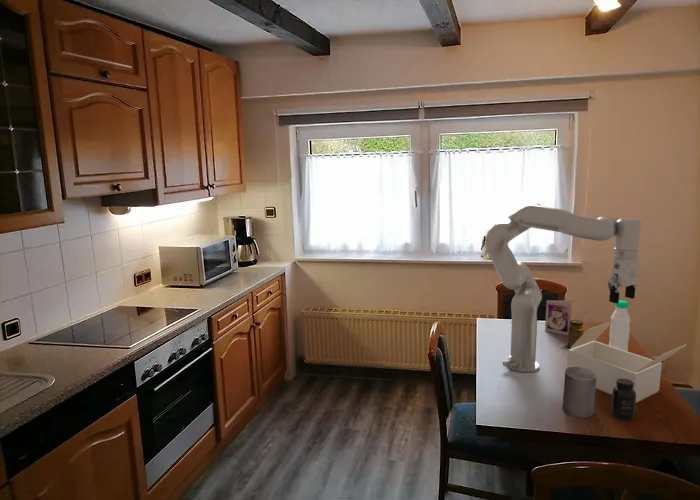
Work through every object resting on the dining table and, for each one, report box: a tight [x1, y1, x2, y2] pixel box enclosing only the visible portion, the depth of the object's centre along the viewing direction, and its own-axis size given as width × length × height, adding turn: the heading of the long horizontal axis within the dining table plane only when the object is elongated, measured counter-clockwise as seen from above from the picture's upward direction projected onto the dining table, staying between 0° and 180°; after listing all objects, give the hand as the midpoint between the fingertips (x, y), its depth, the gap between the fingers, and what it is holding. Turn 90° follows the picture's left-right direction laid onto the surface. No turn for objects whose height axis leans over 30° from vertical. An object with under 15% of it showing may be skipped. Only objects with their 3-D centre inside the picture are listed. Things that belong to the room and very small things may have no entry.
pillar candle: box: [562, 367, 597, 419], centre depth 172 cm, size 10×10×15 cm
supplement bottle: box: [610, 378, 637, 421], centre depth 169 cm, size 7×7×12 cm
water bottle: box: [608, 299, 631, 352], centre depth 210 cm, size 7×7×25 cm
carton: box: [566, 340, 663, 404], centre depth 191 cm, size 16×26×11 cm, turn 32°
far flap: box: [571, 320, 613, 349], centre depth 196 cm, size 15×12×1 cm
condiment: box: [561, 319, 585, 351], centre depth 225 cm, size 7×8×12 cm
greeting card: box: [544, 299, 573, 336], centre depth 244 cm, size 11×7×15 cm, turn 50°
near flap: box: [637, 343, 688, 372], centre depth 175 cm, size 15×12×1 cm
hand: (621, 300), depth 186 cm, fingers open, 9 cm apart
